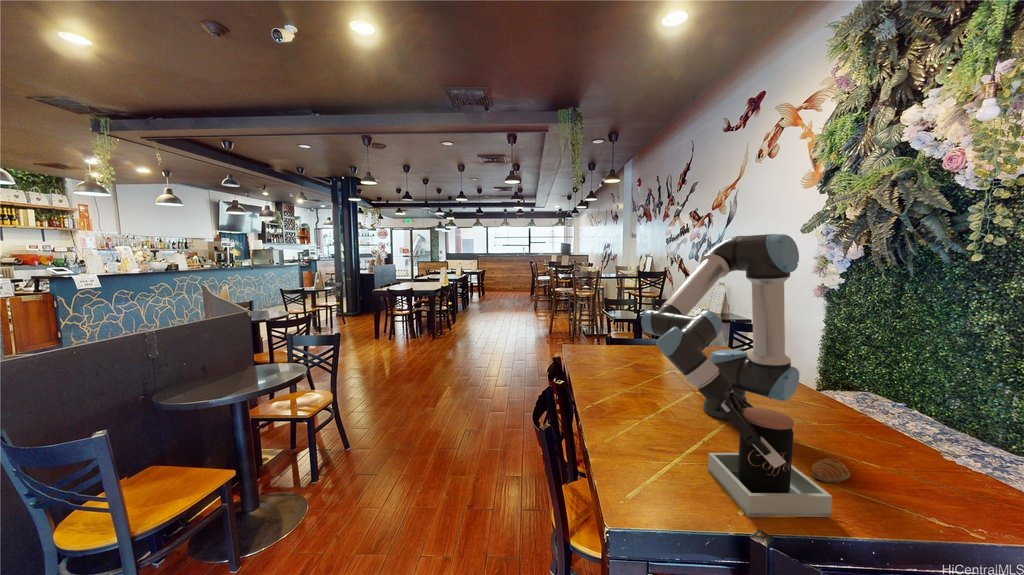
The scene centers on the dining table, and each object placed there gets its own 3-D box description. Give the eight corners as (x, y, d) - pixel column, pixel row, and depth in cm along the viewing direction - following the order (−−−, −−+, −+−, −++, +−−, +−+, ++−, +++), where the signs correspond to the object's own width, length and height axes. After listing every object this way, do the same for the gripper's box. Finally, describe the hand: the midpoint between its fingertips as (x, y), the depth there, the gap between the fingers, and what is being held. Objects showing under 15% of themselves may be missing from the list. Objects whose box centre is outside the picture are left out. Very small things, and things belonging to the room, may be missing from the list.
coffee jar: (741, 494, 88) (745, 421, 87) (733, 470, 98) (737, 404, 97) (796, 505, 84) (801, 429, 83) (782, 479, 94) (786, 410, 93)
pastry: (833, 488, 92) (833, 474, 92) (802, 474, 98) (802, 461, 98) (852, 478, 96) (852, 464, 96) (821, 465, 102) (822, 452, 102)
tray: (775, 470, 100) (776, 452, 99) (830, 517, 82) (832, 496, 82) (707, 470, 100) (708, 452, 100) (748, 517, 82) (749, 496, 82)
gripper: (700, 374, 108) (760, 437, 101) (691, 404, 87) (766, 485, 80) (722, 359, 104) (785, 423, 98) (718, 386, 83) (798, 469, 77)
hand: (777, 451), depth 89 cm, fingers open, 12 cm apart
